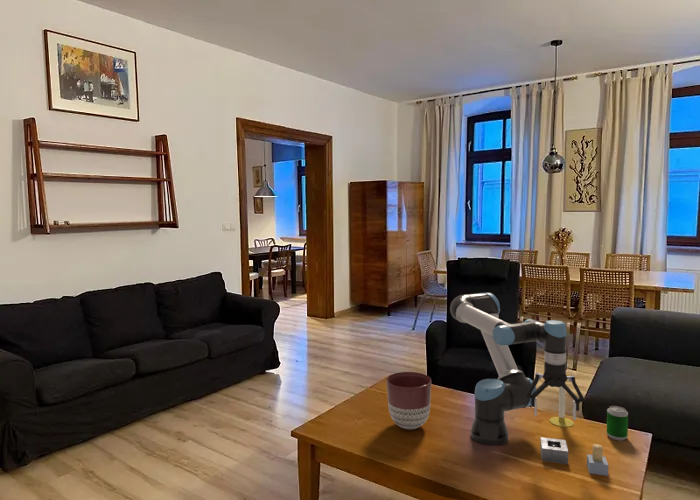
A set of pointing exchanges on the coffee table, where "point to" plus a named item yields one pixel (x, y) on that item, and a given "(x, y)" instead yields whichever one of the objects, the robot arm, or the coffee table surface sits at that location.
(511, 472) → the coffee table surface
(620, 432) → the soda can
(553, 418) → the candle
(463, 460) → the coffee table surface
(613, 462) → the coffee table surface
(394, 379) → the planter
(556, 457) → the grey hollow block
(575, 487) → the coffee table surface
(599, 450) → the blue-gray block
